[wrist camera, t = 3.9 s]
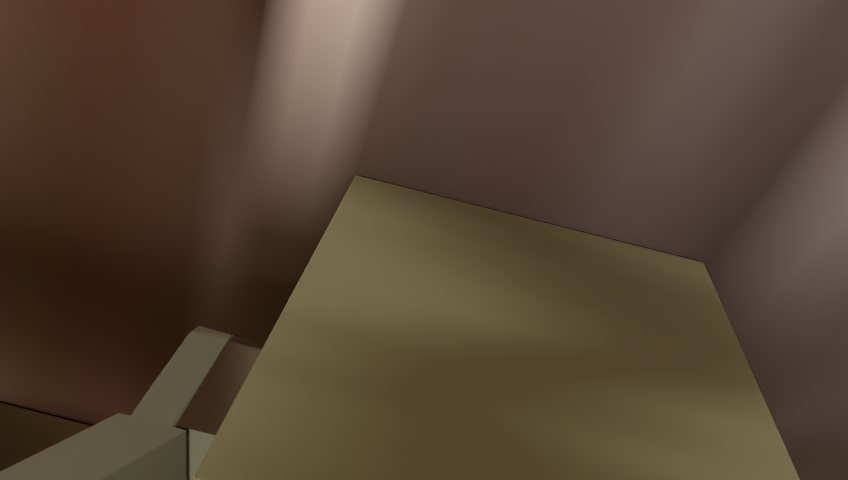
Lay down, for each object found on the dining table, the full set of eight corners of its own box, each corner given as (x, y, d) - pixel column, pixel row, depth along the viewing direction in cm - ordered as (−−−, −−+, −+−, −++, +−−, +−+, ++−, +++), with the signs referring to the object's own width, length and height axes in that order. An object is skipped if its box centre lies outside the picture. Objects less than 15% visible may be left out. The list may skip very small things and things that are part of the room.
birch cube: (703, 262, 9) (876, 652, 4) (581, 480, 11) (616, 852, 7) (356, 174, 9) (192, 476, 4) (317, 413, 11) (192, 742, 7)
